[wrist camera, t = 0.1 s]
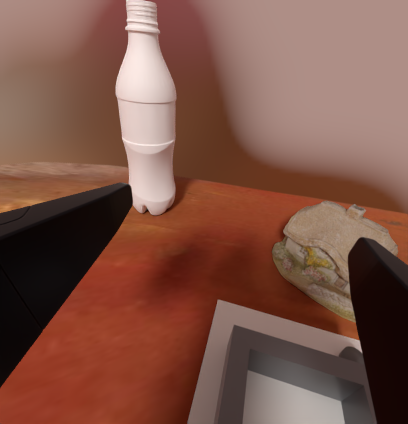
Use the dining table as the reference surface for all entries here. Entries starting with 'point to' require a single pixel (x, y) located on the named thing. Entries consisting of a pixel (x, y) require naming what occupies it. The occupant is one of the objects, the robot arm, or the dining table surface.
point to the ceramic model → (325, 252)
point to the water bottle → (147, 111)
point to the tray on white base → (279, 373)
